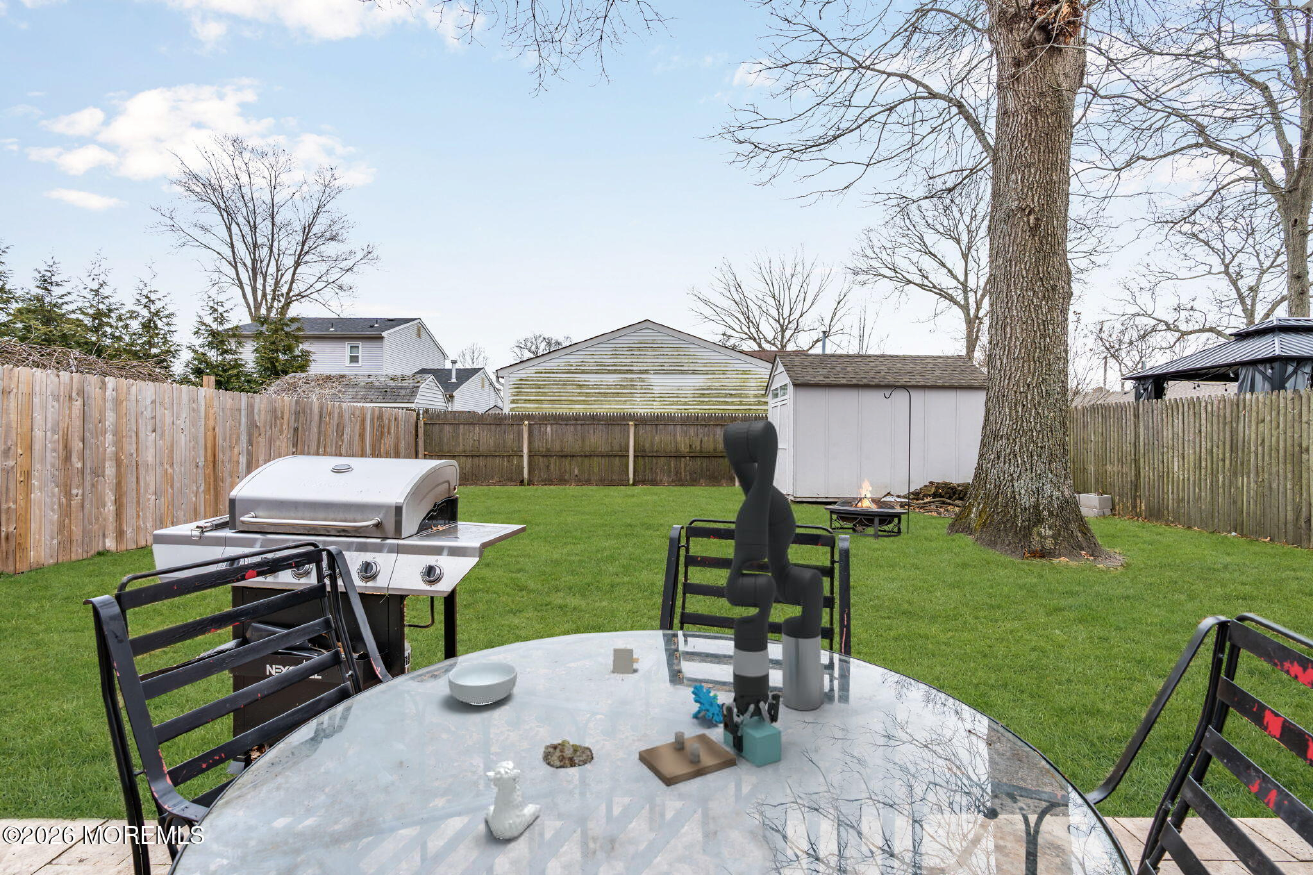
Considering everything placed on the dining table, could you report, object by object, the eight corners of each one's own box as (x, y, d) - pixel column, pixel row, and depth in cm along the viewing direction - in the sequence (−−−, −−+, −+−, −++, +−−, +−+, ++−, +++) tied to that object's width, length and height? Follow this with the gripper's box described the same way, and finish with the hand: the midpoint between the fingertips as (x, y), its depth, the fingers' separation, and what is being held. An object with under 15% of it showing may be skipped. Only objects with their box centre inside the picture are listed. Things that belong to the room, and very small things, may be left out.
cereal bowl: (508, 714, 159) (507, 684, 159) (439, 714, 160) (438, 685, 160) (524, 686, 176) (523, 659, 176) (461, 686, 177) (460, 659, 177)
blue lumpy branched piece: (717, 725, 149) (689, 687, 153) (699, 741, 150) (672, 703, 154) (733, 712, 159) (707, 677, 163) (716, 727, 160) (690, 692, 164)
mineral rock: (536, 758, 134) (548, 729, 142) (537, 775, 136) (549, 746, 143) (588, 763, 133) (597, 734, 140) (589, 781, 134) (598, 751, 142)
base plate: (704, 739, 146) (703, 719, 146) (736, 764, 135) (736, 742, 135) (638, 758, 138) (638, 736, 138) (667, 785, 127) (667, 762, 127)
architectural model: (614, 670, 188) (614, 644, 188) (639, 671, 187) (639, 644, 187) (612, 675, 185) (612, 648, 184) (637, 675, 184) (637, 648, 184)
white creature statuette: (541, 813, 119) (540, 746, 119) (534, 843, 111) (533, 772, 110) (487, 814, 119) (486, 747, 119) (476, 845, 110) (475, 773, 110)
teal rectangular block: (745, 735, 147) (745, 708, 147) (781, 759, 137) (781, 730, 137) (723, 742, 145) (723, 714, 144) (757, 767, 134) (757, 737, 134)
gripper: (767, 656, 147) (767, 732, 147) (712, 668, 140) (712, 748, 140) (789, 667, 140) (789, 746, 141) (733, 680, 133) (733, 764, 134)
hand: (751, 746), depth 141 cm, fingers closed on teal rectangular block, 6 cm apart
